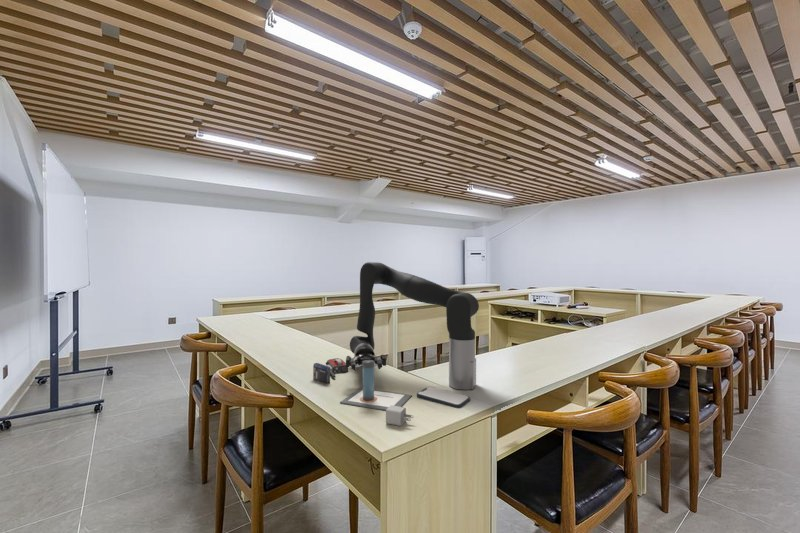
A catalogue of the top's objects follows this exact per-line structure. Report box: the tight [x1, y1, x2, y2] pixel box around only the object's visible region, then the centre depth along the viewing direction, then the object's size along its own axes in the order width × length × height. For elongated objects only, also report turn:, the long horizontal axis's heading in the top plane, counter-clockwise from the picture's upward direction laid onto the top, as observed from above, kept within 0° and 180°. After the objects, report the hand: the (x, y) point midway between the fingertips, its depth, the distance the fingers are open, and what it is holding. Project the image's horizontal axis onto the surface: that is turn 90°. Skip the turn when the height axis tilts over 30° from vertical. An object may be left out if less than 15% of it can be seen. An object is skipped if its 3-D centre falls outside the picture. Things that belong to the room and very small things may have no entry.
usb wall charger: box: [385, 405, 414, 427], centre depth 98 cm, size 4×7×4 cm, turn 67°
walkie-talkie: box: [325, 357, 349, 378], centre depth 145 cm, size 9×4×20 cm
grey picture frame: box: [339, 387, 413, 412], centre depth 115 cm, size 19×14×1 cm
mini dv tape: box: [312, 362, 331, 385], centre depth 133 cm, size 8×2×6 cm, turn 49°
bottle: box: [362, 360, 375, 401], centre depth 113 cm, size 4×4×12 cm
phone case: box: [416, 386, 471, 409], centre depth 116 cm, size 9×2×16 cm
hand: (367, 366), depth 120 cm, fingers open, 8 cm apart
